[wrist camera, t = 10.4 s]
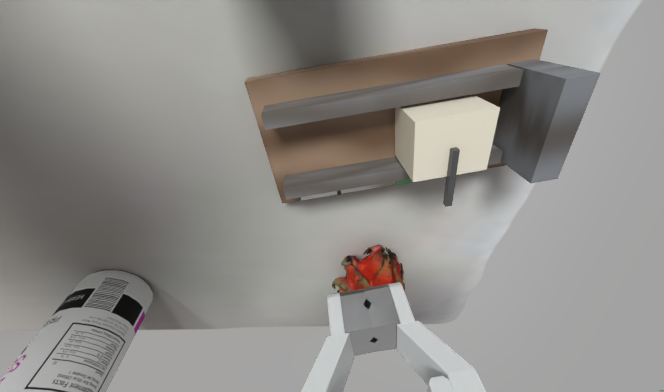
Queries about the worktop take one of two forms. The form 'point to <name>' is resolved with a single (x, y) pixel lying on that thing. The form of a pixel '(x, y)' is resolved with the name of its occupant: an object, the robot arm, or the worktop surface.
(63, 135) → the worktop surface
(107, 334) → the supplement can
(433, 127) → the cream block with rod
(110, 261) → the worktop surface
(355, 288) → the dragon fruit
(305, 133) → the base
